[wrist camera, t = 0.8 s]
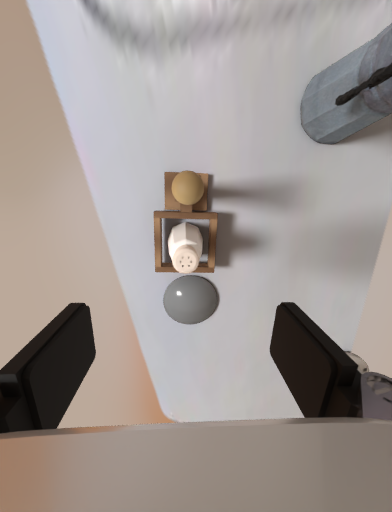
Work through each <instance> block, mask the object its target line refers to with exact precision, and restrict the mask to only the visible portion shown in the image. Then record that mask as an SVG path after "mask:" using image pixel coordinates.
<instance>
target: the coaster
mask: <svg viewBox="0 0 392 512" xmlns="http://www.w3.org/2000/svg"><path fill="white" fill-rule="evenodd" d="M163 303H164V308H165V310H166V312H167V314H168V315H169V316H170V317H171V318H172V319H174V320H175V321H177V322H179V323H183V324H197V323H200V322H202V321H204V320H206V319H207V318H208V317H209V316H211V314H212V313H213V312H214V310H215V308H216V304H217V296H216V292H215V290H214V288H213V286H212V285H211V284H210V283H209V282H208V281H207V280H205V279H204V278H202V277H199V276H193V275H189V276H183V277H180V278H178V279H176V280H174V281H173V282H172V283H171V284H170V285H169V286H168V287H167V289H166V291H165V294H164V299H163Z"/></svg>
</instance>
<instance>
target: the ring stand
mask: <svg viewBox="0 0 392 512" xmlns="http://www.w3.org/2000/svg"><path fill="white" fill-rule="evenodd" d="M207 189H208V174H204V173H195V172H193V171H183V172H180V173H179V172H165V209H167V210H180V211H154V240H155V272H178V271H177V270H176V269H175V268H174V266H173V263H162V218H179V219H210V223H209V243H208V262H207V263H199V265H198V267H197V268H196V270H194V271H193V272H200V273H214V266H215V249H216V233H217V217H218V213H216V212H192V210H202V211H207Z"/></svg>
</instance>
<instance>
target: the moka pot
mask: <svg viewBox="0 0 392 512" xmlns="http://www.w3.org/2000/svg"><path fill="white" fill-rule="evenodd" d="M391 113H392V23H391V24H390V25H389V26H388V27H386V28H385V29H384V30H383V31H382V32H381V33H379V34H378V35H377V36H376V37H375V38H374V39H372V40H371V41H369V42H367V43H366V44H364V45H363V46H361V47H359V48H358V49H356V50H355V51H353V52H351V53H350V54H348V55H347V56H345V57H343V58H342V59H340V60H339V61H337V62H336V63H334V64H332V65H331V66H329V67H328V68H326V69H325V70H323V71H322V72H320V73H319V74H317V75H316V76H314V77H313V78H312V80H311V81H310V83H309V85H308V86H307V88H306V90H305V93H304V95H303V98H302V103H301V122H302V123H301V125H302V127H303V129H304V130H305V132H306V133H307V134H308V135H309V136H310V138H312V139H313V140H315V141H316V142H319V143H325V144H334V143H337V142H339V141H341V140H342V139H344V138H346V137H348V136H350V135H352V134H354V133H355V132H357V131H359V130H361V129H363V128H365V127H367V126H368V125H370V124H372V123H374V122H376V121H378V120H380V119H382V118H384V117H386V116H387V115H389V114H391Z"/></svg>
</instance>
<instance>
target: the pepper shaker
mask: <svg viewBox="0 0 392 512" xmlns="http://www.w3.org/2000/svg"><path fill="white" fill-rule="evenodd" d="M202 246H203V239H202V236H201V234H200V231H199V229H198V227H196V226H194V225H192V224H189V223H187V222H184V223H181V224H179V225H177V226H174V227H173V228H172V230H171V233H170V235H169V238H168V247H169V254H170V257H171V259H172V263H173V266H174V268H175V269H176V270H177V271H178V272H180V273H184V274H187V273H191V272H193V271H194V270H196V268H197V267H198V265H199V259H200V257H201V255H202Z"/></svg>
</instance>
